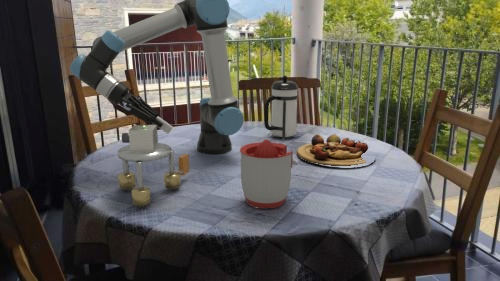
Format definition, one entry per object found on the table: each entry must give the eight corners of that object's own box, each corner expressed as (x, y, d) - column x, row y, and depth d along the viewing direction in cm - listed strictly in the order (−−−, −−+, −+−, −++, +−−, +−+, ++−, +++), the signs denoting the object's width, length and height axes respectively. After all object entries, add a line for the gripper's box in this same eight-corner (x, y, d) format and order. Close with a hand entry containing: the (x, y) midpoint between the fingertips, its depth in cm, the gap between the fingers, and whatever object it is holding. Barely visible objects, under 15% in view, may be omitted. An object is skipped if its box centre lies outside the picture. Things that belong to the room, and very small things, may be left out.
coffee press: (267, 132, 205) (268, 73, 197) (298, 134, 203) (301, 74, 195) (263, 142, 188) (264, 77, 180) (298, 143, 186) (300, 78, 178)
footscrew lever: (176, 192, 129) (174, 154, 126) (161, 190, 131) (159, 152, 127) (194, 178, 142) (192, 142, 138) (180, 176, 143) (179, 141, 140)
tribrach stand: (176, 185, 136) (173, 119, 130) (167, 210, 118) (163, 134, 112) (122, 186, 135) (117, 120, 129) (105, 210, 117) (97, 135, 111)
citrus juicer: (303, 209, 118) (306, 144, 113) (245, 215, 115) (245, 148, 109) (287, 189, 133) (289, 131, 128) (236, 193, 130) (235, 134, 124)
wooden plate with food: (337, 176, 146) (339, 154, 144) (280, 153, 171) (281, 134, 169) (390, 161, 165) (393, 142, 163) (332, 143, 189) (334, 126, 187)
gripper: (115, 94, 145) (169, 132, 148) (100, 103, 133) (159, 144, 136) (126, 77, 143) (180, 117, 146) (111, 85, 130) (171, 128, 134)
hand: (170, 130), depth 141 cm, fingers closed
